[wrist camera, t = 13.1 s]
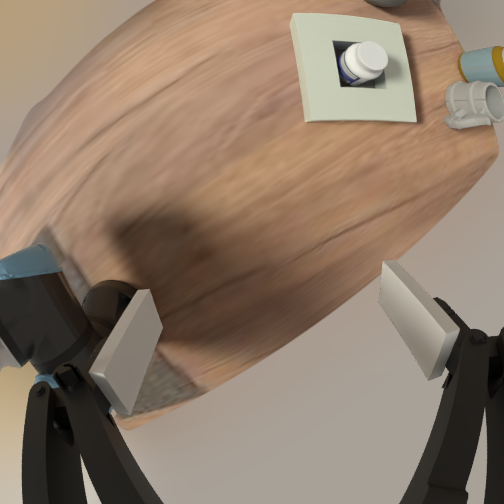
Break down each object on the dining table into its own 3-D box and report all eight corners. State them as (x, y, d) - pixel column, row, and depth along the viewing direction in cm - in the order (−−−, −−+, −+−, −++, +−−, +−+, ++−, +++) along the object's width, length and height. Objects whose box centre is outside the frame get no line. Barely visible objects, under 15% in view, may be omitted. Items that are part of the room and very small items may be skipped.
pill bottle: (363, 55, 30) (389, 39, 22) (368, 87, 32) (396, 77, 24) (330, 53, 31) (349, 34, 23) (335, 85, 33) (356, 73, 25)
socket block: (305, 122, 35) (311, 120, 32) (289, 23, 29) (293, 12, 25) (403, 122, 35) (416, 122, 31) (387, 31, 28) (399, 23, 25)
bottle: (465, 90, 31) (524, 88, 17) (451, 54, 29) (508, 43, 15) (484, 85, 30) (539, 85, 16) (471, 52, 27) (525, 43, 14)
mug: (477, 110, 32) (522, 113, 21) (446, 143, 35) (494, 152, 24) (457, 75, 30) (502, 69, 19) (423, 106, 33) (471, 103, 22)
